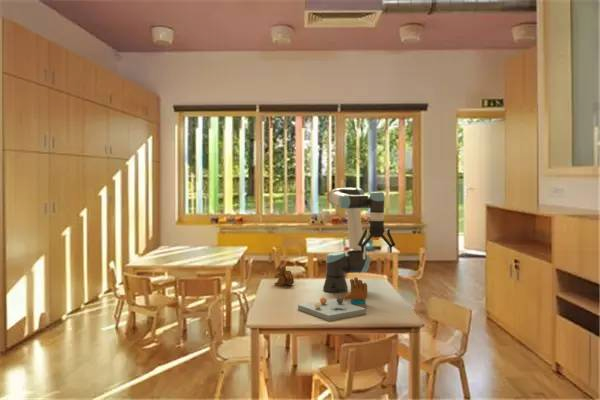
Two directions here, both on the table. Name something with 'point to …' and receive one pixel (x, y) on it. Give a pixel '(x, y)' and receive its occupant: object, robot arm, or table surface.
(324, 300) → the ball
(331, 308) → the grey flat plate
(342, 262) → the robot arm
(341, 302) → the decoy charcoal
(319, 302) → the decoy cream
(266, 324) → the table surface
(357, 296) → the toy
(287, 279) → the stuffed squirrel
